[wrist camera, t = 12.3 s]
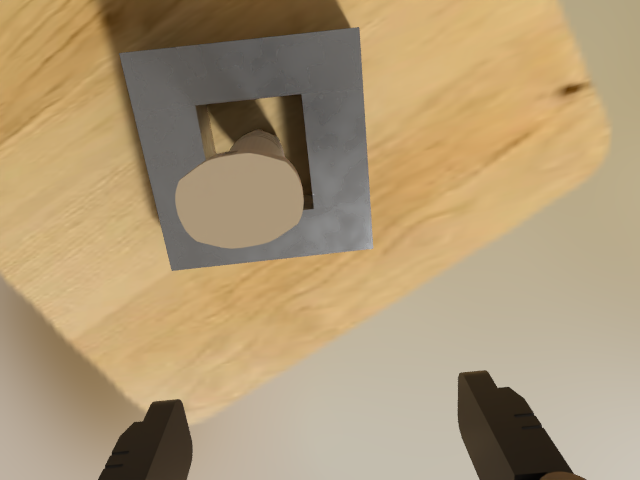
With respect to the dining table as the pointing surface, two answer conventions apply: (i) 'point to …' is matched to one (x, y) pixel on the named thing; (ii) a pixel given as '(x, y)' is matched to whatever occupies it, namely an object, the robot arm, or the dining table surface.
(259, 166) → the handle
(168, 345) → the dining table surface
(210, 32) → the dining table surface
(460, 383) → the robot arm
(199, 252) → the block
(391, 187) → the dining table surface
